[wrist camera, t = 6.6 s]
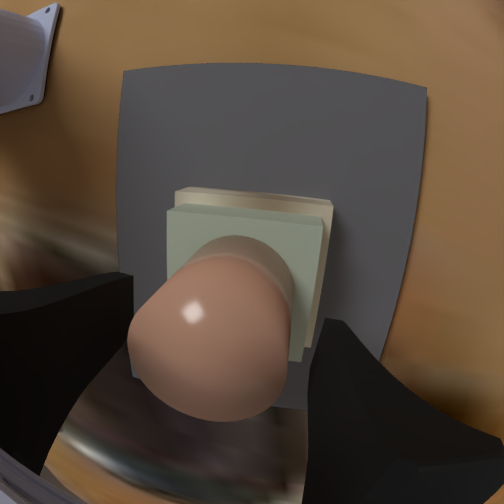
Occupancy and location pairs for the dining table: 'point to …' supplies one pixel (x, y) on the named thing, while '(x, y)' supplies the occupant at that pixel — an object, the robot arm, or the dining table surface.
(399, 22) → the dining table surface
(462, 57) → the dining table surface
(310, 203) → the birch slab
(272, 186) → the charcoal mat
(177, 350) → the rounded pink dome
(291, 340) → the sage slab
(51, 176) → the dining table surface
